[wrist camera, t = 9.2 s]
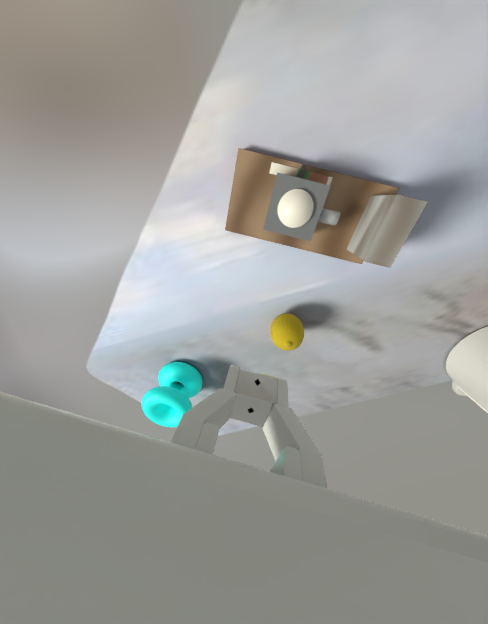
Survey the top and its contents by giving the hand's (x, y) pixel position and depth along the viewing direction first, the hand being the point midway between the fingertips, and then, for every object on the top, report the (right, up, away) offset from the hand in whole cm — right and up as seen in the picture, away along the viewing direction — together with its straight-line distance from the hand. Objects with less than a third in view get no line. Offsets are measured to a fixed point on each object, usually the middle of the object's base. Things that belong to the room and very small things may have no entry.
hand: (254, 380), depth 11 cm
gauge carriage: (+7, +18, +18) cm, 26 cm away
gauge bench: (+8, +18, +20) cm, 28 cm away
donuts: (-15, -11, +39) cm, 43 cm away
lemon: (+7, +2, +28) cm, 29 cm away
